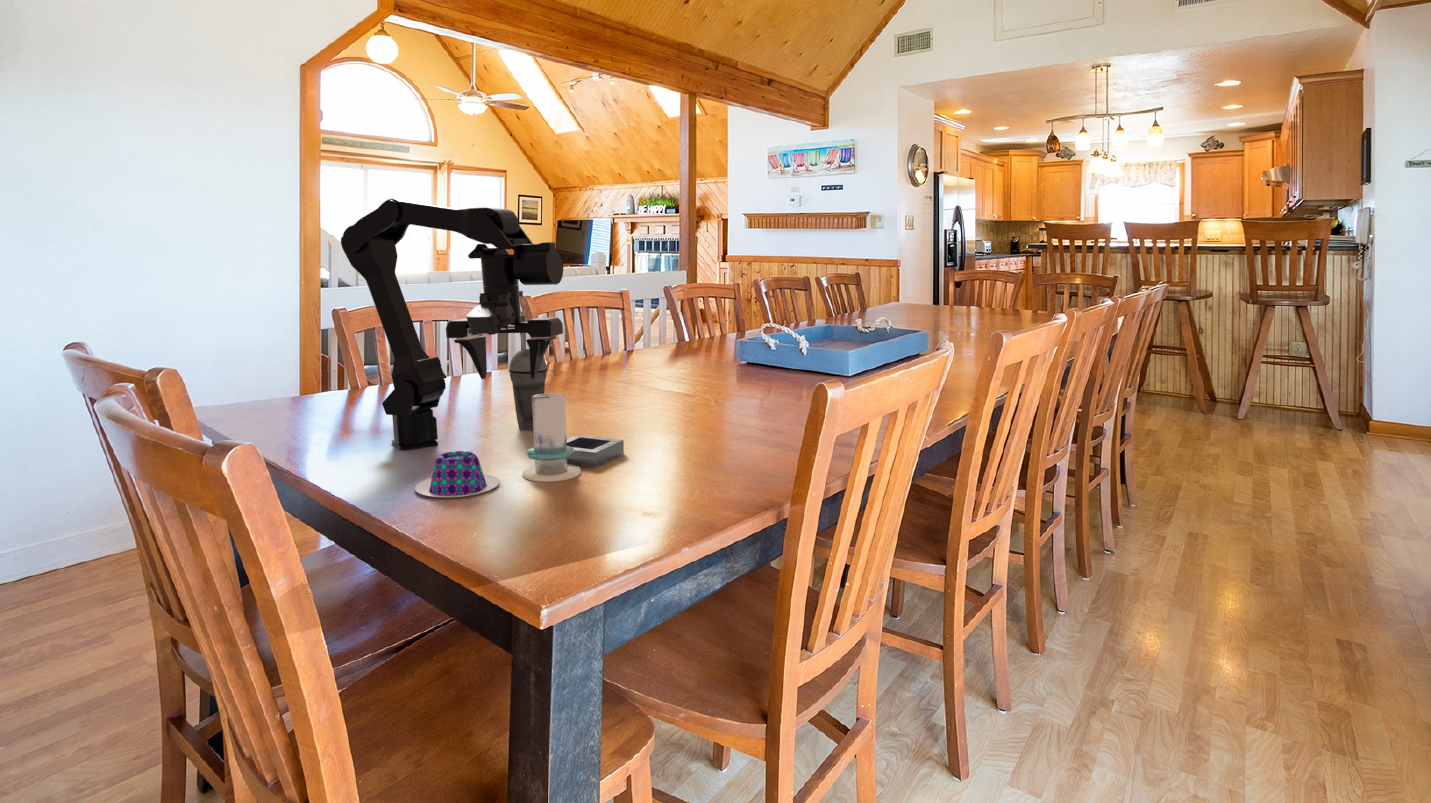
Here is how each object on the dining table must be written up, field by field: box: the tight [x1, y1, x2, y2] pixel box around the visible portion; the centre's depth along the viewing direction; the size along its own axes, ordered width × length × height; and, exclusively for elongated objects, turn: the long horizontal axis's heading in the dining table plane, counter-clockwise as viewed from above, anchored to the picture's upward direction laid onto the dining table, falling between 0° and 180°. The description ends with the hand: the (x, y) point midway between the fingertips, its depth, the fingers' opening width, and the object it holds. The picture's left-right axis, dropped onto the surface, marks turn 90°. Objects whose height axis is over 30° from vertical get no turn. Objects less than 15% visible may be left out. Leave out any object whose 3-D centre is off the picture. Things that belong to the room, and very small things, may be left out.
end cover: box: [526, 392, 574, 475], centre depth 123 cm, size 7×7×12 cm
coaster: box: [522, 464, 582, 483], centre depth 124 cm, size 9×9×1 cm
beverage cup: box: [508, 333, 548, 432], centre depth 152 cm, size 7×7×20 cm
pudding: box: [414, 450, 501, 499], centre depth 117 cm, size 12×12×5 cm
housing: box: [566, 434, 625, 468], centre depth 133 cm, size 9×9×2 cm
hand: (508, 378), depth 133 cm, fingers open, 9 cm apart
